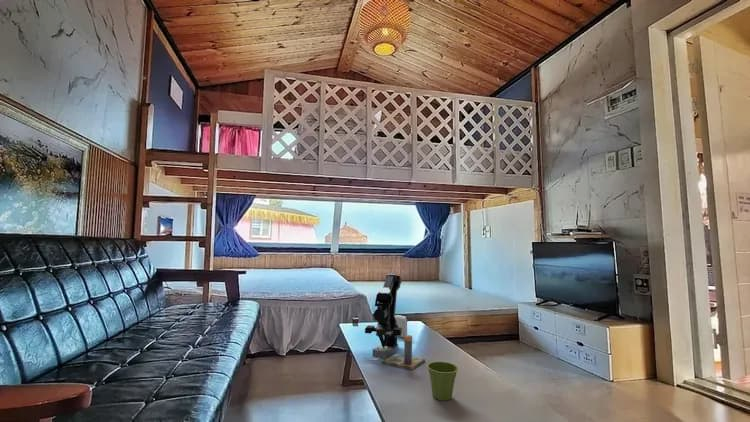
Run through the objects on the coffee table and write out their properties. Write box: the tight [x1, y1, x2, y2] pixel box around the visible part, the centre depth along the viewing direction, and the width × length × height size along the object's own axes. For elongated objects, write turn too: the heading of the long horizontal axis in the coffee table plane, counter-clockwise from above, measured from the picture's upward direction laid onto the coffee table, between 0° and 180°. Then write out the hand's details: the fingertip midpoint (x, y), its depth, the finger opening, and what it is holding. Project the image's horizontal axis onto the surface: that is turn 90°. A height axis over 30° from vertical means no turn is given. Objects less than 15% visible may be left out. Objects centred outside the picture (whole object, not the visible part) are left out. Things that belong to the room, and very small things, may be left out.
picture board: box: [381, 353, 426, 371], centre depth 176 cm, size 16×14×1 cm
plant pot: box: [426, 361, 459, 402], centre depth 139 cm, size 12×12×11 cm
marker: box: [403, 334, 413, 365], centre depth 172 cm, size 4×4×12 cm
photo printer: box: [395, 314, 408, 339], centre depth 223 cm, size 10×4×12 cm, turn 39°
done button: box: [378, 345, 388, 351], centre depth 187 cm, size 4×4×3 cm
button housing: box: [372, 345, 395, 359], centre depth 187 cm, size 8×8×3 cm
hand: (383, 347), depth 187 cm, fingers closed, pressing on done button
